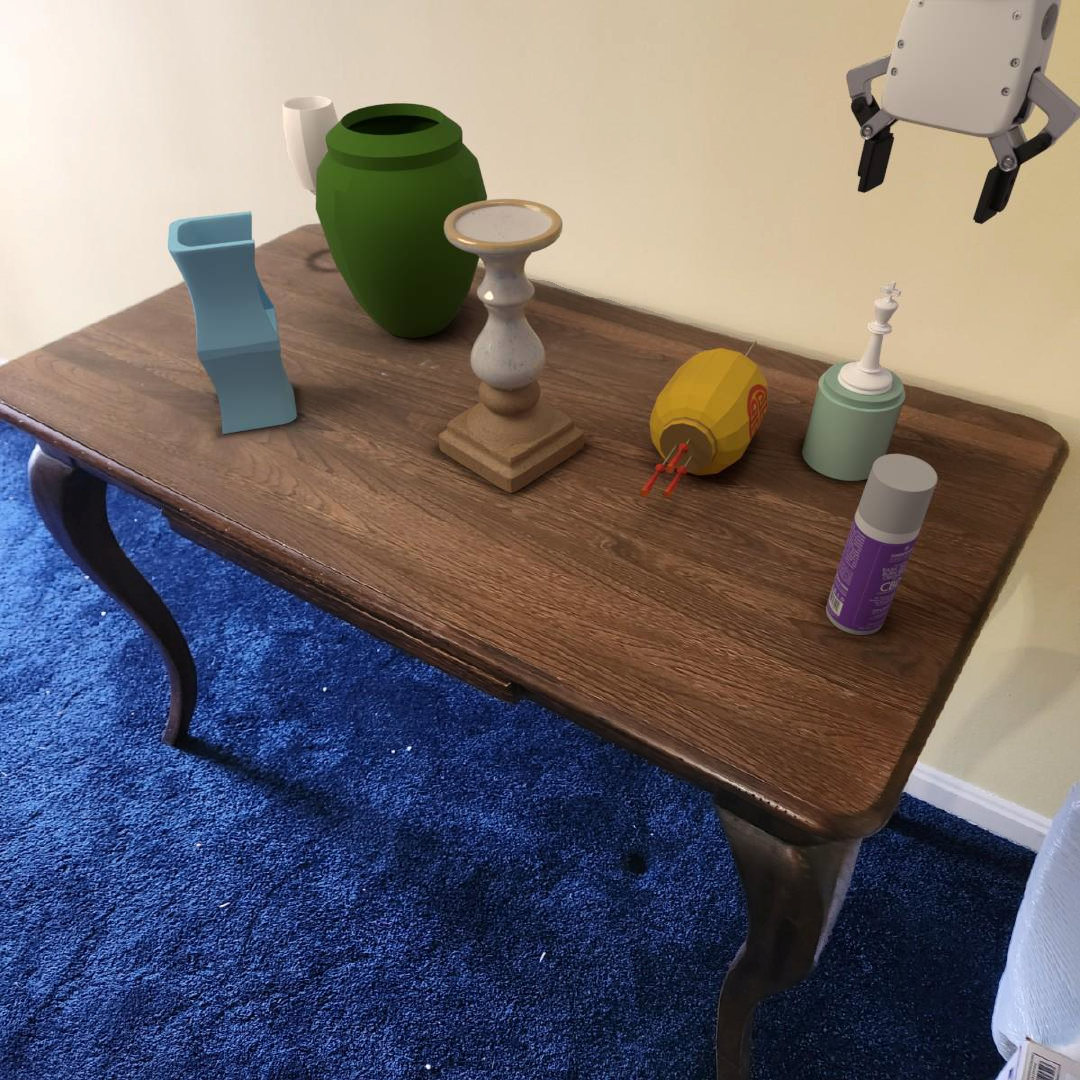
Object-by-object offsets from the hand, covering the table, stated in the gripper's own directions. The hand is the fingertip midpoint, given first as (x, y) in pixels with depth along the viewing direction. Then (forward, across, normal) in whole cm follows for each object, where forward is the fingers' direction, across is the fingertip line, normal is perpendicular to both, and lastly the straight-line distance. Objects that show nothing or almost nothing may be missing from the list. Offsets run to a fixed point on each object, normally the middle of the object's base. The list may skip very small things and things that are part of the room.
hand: (925, 202), depth 69 cm
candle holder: (+26, +27, +21) cm, 43 cm away
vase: (+26, +55, +11) cm, 61 cm away
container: (+27, -10, +18) cm, 34 cm away
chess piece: (+18, +1, -1) cm, 18 cm away
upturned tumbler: (+26, +2, -1) cm, 26 cm away
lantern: (+26, +12, +8) cm, 30 cm away
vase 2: (+26, +52, +36) cm, 68 cm away
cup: (+26, +78, +7) cm, 82 cm away
